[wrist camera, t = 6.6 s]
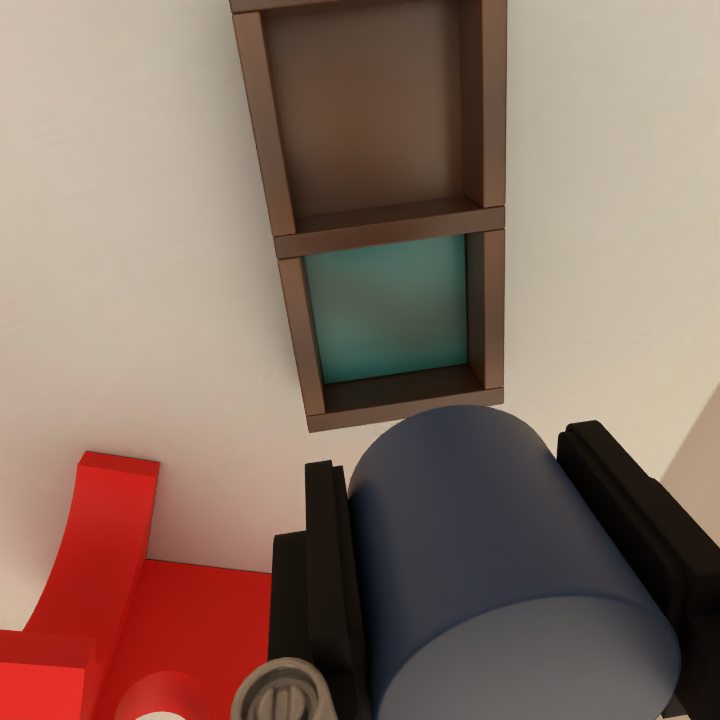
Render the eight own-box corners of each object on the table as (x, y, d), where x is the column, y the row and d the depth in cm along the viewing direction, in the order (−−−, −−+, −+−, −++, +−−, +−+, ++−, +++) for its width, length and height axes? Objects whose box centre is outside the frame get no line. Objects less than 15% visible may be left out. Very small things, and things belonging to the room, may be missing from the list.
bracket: (-29, 839, 20) (-36, 659, 16) (73, 604, 29) (85, 451, 25) (429, 847, 24) (518, 702, 20) (393, 636, 33) (449, 507, 29)
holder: (236, -4, 18) (224, -21, 15) (474, -32, 18) (508, -54, 16) (307, 392, 25) (308, 433, 22) (480, 367, 25) (504, 404, 22)
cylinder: (333, 420, 11) (355, 624, 7) (557, 387, 11) (710, 566, 7) (358, 582, 13) (387, 813, 9) (546, 552, 13) (661, 765, 9)
